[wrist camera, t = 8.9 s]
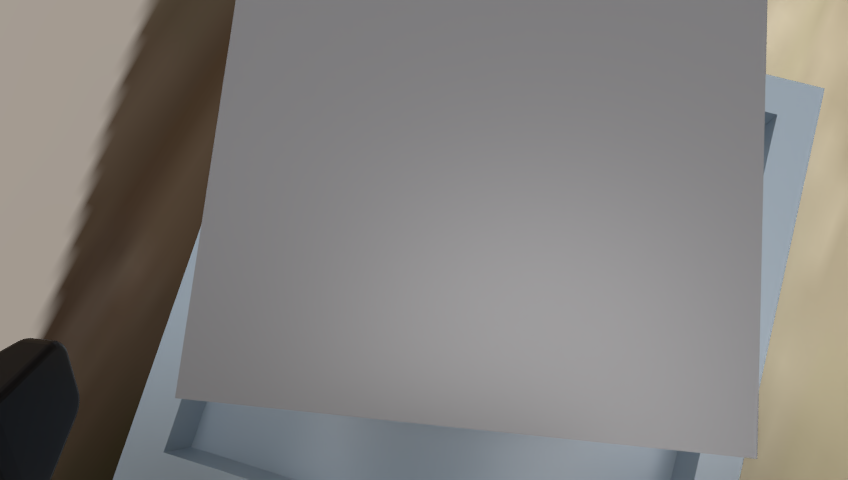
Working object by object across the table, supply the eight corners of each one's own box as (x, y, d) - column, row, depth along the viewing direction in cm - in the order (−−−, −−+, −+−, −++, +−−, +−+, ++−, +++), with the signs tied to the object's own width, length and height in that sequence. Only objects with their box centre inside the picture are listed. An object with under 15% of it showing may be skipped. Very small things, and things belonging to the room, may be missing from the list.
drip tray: (667, 635, 17) (696, 671, 14) (155, 469, 18) (112, 480, 16) (782, 124, 18) (824, 88, 16) (313, 6, 20) (294, -42, 18)
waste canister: (583, 420, 17) (762, 465, 7) (347, 396, 17) (169, 402, 7) (597, 188, 18) (775, -88, 8) (373, 170, 18) (249, -118, 8)
